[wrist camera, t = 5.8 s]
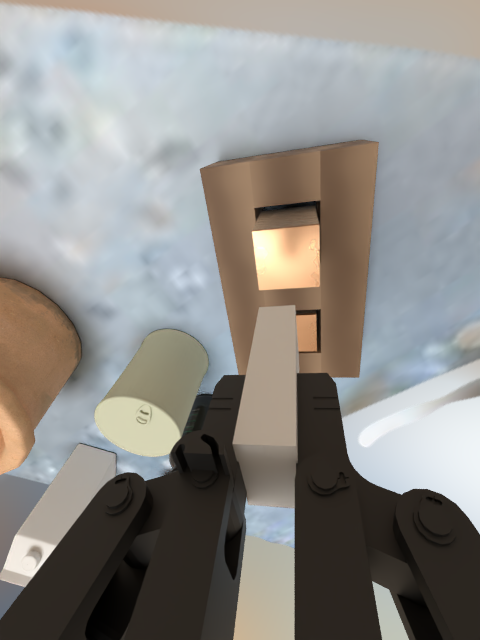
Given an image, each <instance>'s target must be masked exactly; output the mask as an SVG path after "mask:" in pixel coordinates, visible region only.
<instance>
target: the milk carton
mask: <svg viewBox="0 0 480 640" xmlns="http://www.w3.org/2000/svg"><path fill="white" fill-rule="evenodd" d="M115 475H116V454H114V453H111V452H107V451H104V450H100V449H97V448H94V447H90V446H87V445H83V444H78V445H77V447H76V448H75V450H74V451H73V453H72V454H71V455H70V457H69V458H68V460H67V461H66V463H65V464H64V466H63V467H62V468H61V470H60V471H59V473H58V474H57V476H56V477H55V479H54V480H53V481H52V483H51V484H50V486H49V487H48V489H47V490H46V492H45V493H44V495H43V496H42V497H41V499H40V500H39V502H38V503H37V505H36V506H35V508H34V509H33V511H32V512H31V513H30V515H29V516H28V518H27V519H26V521H25V522H24V523H23V525H22V526H21V528H20V529H19V531H18V533H17V534H16V535H15V537H14V540H13V543H12V546H11V549H10V551H9V554H8V557H7V560H6V563H5V565H4V568H3V570H2V572H1V573H0V580H3V581H7V582H10V583H14V584H17V585H20V586H24V587H26V585H27V584H28V583H29V581H30V580H31V579H32V578H33V576H34V575H35V574H36V572H37V571H38V570H39V568H40V567H41V566H42V564H43V563H44V562H45V561H46V559H47V558H48V557H49V555H50V554H51V553H52V551H53V550H54V549H55V547H56V546H57V545H58V543H59V542H60V541H61V540H62V538H63V537H64V536H65V534H66V533H67V532H68V530H69V529H70V528H71V526H72V525H73V524H74V522H75V521H76V520H77V519H78V517H79V516H80V515H81V513H82V512H83V511H84V509H85V508H86V507H87V505H88V504H89V503H90V501H91V500H92V499H93V498H94V496H95V495H96V494H97V492H98V491H99V490H100V489H101V488H102V487H103V486H104V485H105V484H106V483H107V482H108V481H109V480H111V479H112V478H114V477H115Z"/></svg>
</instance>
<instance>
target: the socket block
mask: <svg viewBox="0 0 480 640" xmlns="http://www.w3.org/2000/svg"><path fill="white" fill-rule="evenodd" d="M378 144H379V142H374V141H367V140H356V141H350V142H343V143H337V144H330V145H324V146H317V147H311V148H304V149H298V150H291V151H284V152H278V153H271V154H265V155H258V156H252V157H245V158H239V159H232V160H226V161H219V162H216V163H213V164H211V165H208V166H206V167H204V168H201V169H200V173H201V178H202V183H203V188H204V194H205V199H206V204H207V210H208V215H209V220H210V225H211V231H212V236H213V241H214V246H215V252H216V257H217V262H218V268H219V273H220V278H221V283H222V289H223V294H224V299H225V304H226V310H227V315H228V320H229V326H230V331H231V336H232V341H233V347H234V352H235V357H236V363H237V368H238V373H239V375H246V372H247V367H248V362H249V357H250V352H251V346H252V341H253V336H254V331H255V326H256V321H257V316H258V311H259V307H272V306H288V305H295V309H296V310H314V309H317V320H316V327H317V351H299V373H328V374H329V375H330V377H359V373H360V361H361V349H362V337H363V325H364V313H365V301H366V289H367V277H368V265H369V253H370V241H371V228H372V216H373V204H374V192H375V180H376V168H377V156H378ZM309 201H316V213H317V217H318V221H319V233H320V287H306V288H289V289H273V290H259V285H258V277H257V268H256V260H255V252H254V243H253V235H252V231H253V228H254V226H255V224H256V221H257V219H258V217H259V214H260V212H261V211H263V207H267V206H275V205H284V204H292V203H301V202H309Z"/></svg>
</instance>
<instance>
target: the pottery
mask: <svg viewBox="0 0 480 640" xmlns="http://www.w3.org/2000/svg"><path fill="white" fill-rule="evenodd" d="M80 360H81V342H80V340H79V337H78V335H77V333H76V330H75V328H74V326H73V324H72V323H71V321H70V320H69V319H68V318H67V316H66V315H65V314H64V313H63V311H62V310H61V309H60V308H59V307H58V306H57V305H56V304H55V303H53V302H52V301H51V300H50V299H48V298H47V297H46V296H44V295H43V294H42V293H41V292H39V291H38V290H35V289H33V288H31V287H29V286H27V285H25V284H23V283H20V282H18V281H16V280H13V279H7V278H1V277H0V475H1V474H3V473H6V472H8V471H11V470H13V469H16V468H18V467H19V466H20V465H21V464H22V463H23V462H24V460H25V459H26V458H27V456H28V455H29V453H30V451H31V449H32V447H33V445H34V443H35V436H34V429H35V428H36V426H37V425H38V423H39V422H40V420H41V419H42V417H43V416H44V414H45V413H46V411H47V410H48V408H49V407H50V405H51V404H52V402H53V401H54V399H55V398H56V396H57V395H58V393H59V392H60V390H61V389H62V387H63V386H64V385H65V383H66V382H67V380H68V379H69V377H70V376H71V374H72V373H73V371H74V370H75V369H76V367H77V365H78V363H79V361H80Z"/></svg>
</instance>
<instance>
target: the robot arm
mask: <svg viewBox="0 0 480 640" xmlns="http://www.w3.org/2000/svg"><path fill="white" fill-rule="evenodd" d="M170 453H171V455H172V458H173V460H174V462H175V464H176V467H177V469H178V470H177V471H176V472H173V473H171V474H168V475H165V476H162V477H158V478H154V479H151V480H147V481H144V479H143V478H142V477H141V476H140V475H138V474H137V473H129V472H127V473H124V474H120V475H117V476H116V477H114V478H112V479H111V480H109V481H108V482H107V483H106V484H105V485H104V486H103V487H102V488H101V489H100V490H99V491H98V492H97V494H96V495H95V496H94V498H93V499H92V500H91V501H90V503H89V504H88V505H87V507H86V508H85V509H84V511H83V512H82V513H81V515H80V516H79V517H78V519H77V520H76V521H75V522H74V524H73V525H72V526H71V528H70V529H69V530H68V532H67V533H66V534H65V536H64V537H63V538H62V540H61V541H60V542H59V543H58V545H57V546H56V547H55V549H54V550H53V551H52V553H51V554H50V555H49V557H48V558H47V559H46V561H45V562H44V563H43V564H42V566H41V567H40V568H39V570H38V571H37V572H36V574H35V575H34V576H33V578H32V579H31V580H30V581H29V583H28V584H27V585H26V587H25V588H24V589H23V591H22V592H21V593H20V595H19V596H18V597H17V599H16V600H15V601H14V602H13V604H12V605H11V607H10V608H9V609H8V610H7V612H6V613H5V614H4V616H3V617H2V618H1V620H0V640H233V636H234V628H235V619H236V611H237V602H238V593H239V584H240V577H241V568H242V560H243V551H244V542H245V534H246V519H245V516H244V510H245V503H246V497H247V501H248V505H258V506H271V507H284V508H295V640H382V637H381V631H380V625H379V619H378V613H377V607H376V601H375V595H374V590H373V584H372V581H373V582H375V583H377V584H379V585H381V586H383V587H385V588H387V589H389V590H390V592H391V595H392V598H393V600H394V603H395V605H396V608H397V610H398V613H399V615H400V618H401V620H402V623H403V625H404V628H405V630H406V633H407V635H408V638H409V640H480V534H479V533H478V531H477V530H476V528H475V527H474V525H473V524H472V522H471V521H470V520H469V518H468V517H467V516H466V514H465V513H464V512H463V511H462V510H461V509H460V508H459V507H458V506H457V505H456V504H455V503H454V502H452V501H451V500H449V499H448V498H446V497H445V496H443V495H442V494H439V493H436V492H433V491H431V490H428V489H412V490H410V491H408V492H405V493H403V494H402V495H401V494H397V493H395V492H392V491H390V490H387V489H384V488H382V487H379V486H376V485H375V484H372V483H370V482H369V481H367V480H366V479H364V478H363V477H362V476H361V475H360V474H359V473H358V472H357V471H356V470H355V469H354V467H353V466H352V464H351V463H350V460H349V457H348V454H347V448H346V443H345V436H344V430H343V424H342V418H341V412H340V406H339V400H338V393H337V387H336V383H335V382H334V381H333V379H332V378H331V377H330V375H329V374H328V373H299V351H298V337H297V323H296V309H295V305H288V306H272V307H259V311H258V316H257V321H256V326H255V331H254V336H253V341H252V346H251V352H250V357H249V362H248V367H247V372H246V375H224V376H223V377H222V378H221V380H220V381H219V382H218V383H217V384H216V386H215V389H214V392H213V395H212V400H211V402H210V405H209V410H208V411H207V415H206V418H205V421H204V424H203V428H202V430H197V431H193V432H190V433H188V434H186V435H184V436H183V437H182V438H181V439H180V440H178V441H177V442H176V443H175V445H174V447H173V448H172V450H171V452H170Z"/></svg>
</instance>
